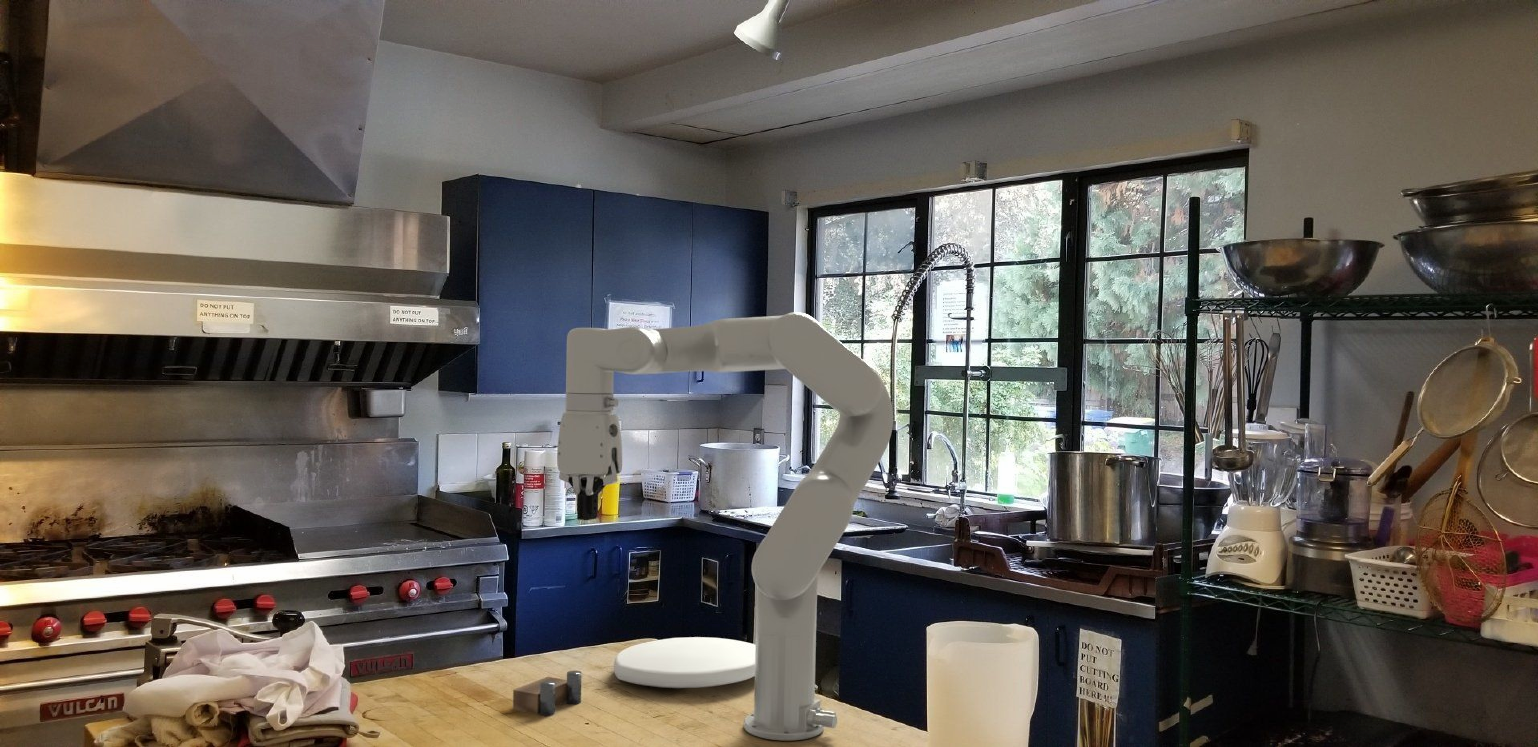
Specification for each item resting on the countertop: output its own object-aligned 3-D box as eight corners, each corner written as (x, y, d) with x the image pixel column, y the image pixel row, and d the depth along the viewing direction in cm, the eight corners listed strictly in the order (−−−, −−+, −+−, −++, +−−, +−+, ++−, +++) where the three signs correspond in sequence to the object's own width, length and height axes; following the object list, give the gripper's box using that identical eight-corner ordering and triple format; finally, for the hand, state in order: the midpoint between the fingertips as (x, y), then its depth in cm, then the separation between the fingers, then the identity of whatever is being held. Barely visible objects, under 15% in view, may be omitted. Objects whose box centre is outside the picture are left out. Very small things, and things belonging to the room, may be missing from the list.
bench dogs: (583, 701, 185) (584, 671, 185) (548, 716, 177) (549, 685, 177) (572, 699, 186) (572, 669, 186) (536, 714, 178) (537, 683, 178)
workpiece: (571, 701, 186) (571, 680, 186) (537, 715, 178) (537, 694, 178) (547, 696, 188) (547, 676, 188) (512, 710, 180) (513, 689, 180)
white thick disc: (590, 664, 191) (641, 630, 217) (593, 701, 191) (643, 663, 217) (746, 659, 185) (778, 625, 211) (749, 697, 185) (781, 658, 211)
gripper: (641, 405, 176) (639, 520, 176) (566, 402, 183) (564, 512, 183) (614, 406, 169) (611, 525, 169) (537, 403, 176) (535, 517, 176)
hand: (587, 518), depth 176 cm, fingers closed
